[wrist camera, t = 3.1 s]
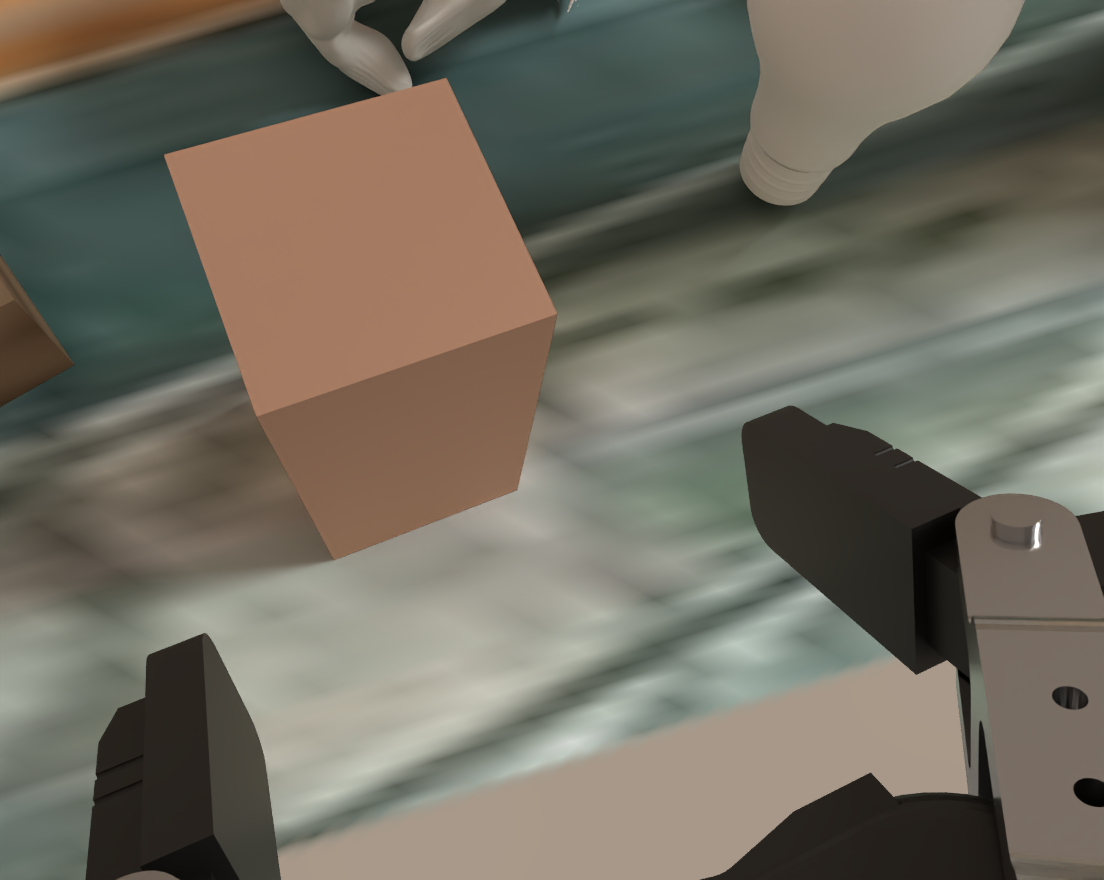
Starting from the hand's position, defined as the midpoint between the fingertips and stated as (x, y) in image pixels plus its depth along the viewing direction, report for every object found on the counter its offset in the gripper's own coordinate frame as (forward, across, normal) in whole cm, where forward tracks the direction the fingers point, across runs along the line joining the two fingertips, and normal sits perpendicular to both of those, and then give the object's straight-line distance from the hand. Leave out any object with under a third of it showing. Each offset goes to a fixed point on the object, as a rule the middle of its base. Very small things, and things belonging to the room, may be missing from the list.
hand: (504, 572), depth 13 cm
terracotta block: (+12, 0, +3) cm, 12 cm away
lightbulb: (+14, -14, +1) cm, 20 cm away
